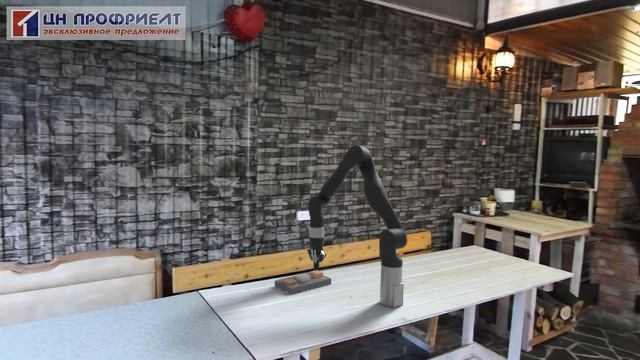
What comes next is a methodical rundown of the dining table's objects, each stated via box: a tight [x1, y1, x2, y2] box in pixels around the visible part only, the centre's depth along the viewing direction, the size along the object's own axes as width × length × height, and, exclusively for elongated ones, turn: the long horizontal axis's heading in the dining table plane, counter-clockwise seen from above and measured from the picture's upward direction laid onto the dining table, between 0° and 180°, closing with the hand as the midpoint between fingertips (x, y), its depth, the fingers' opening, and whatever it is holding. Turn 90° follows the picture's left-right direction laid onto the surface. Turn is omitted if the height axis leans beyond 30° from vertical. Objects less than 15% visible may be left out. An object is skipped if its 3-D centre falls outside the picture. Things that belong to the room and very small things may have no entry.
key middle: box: [295, 272, 311, 282], centre depth 201 cm, size 5×5×3 cm
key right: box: [308, 270, 324, 279], centre depth 206 cm, size 5×5×3 cm
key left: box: [283, 278, 297, 285], centre depth 196 cm, size 5×5×3 cm
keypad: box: [274, 272, 332, 296], centre depth 201 cm, size 14×24×3 cm, turn 129°
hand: (316, 269), depth 206 cm, fingers closed
